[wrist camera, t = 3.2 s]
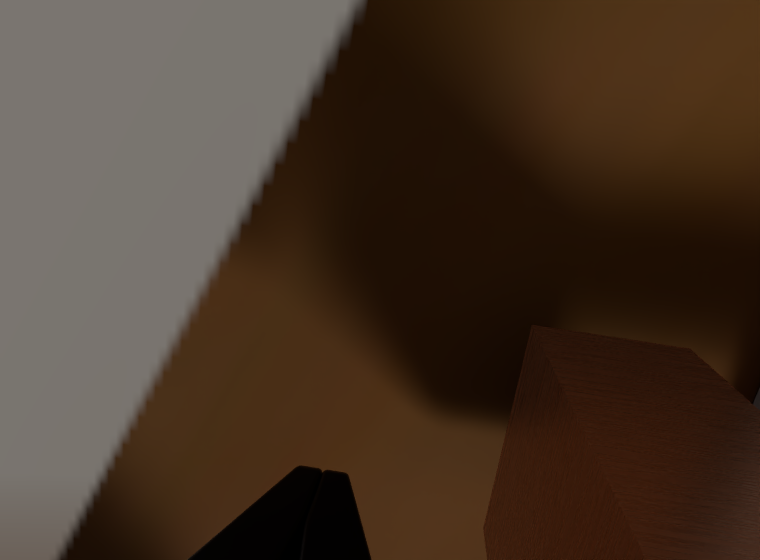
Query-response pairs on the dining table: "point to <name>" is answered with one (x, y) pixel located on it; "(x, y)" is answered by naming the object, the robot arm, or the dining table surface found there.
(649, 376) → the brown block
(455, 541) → the dining table surface
